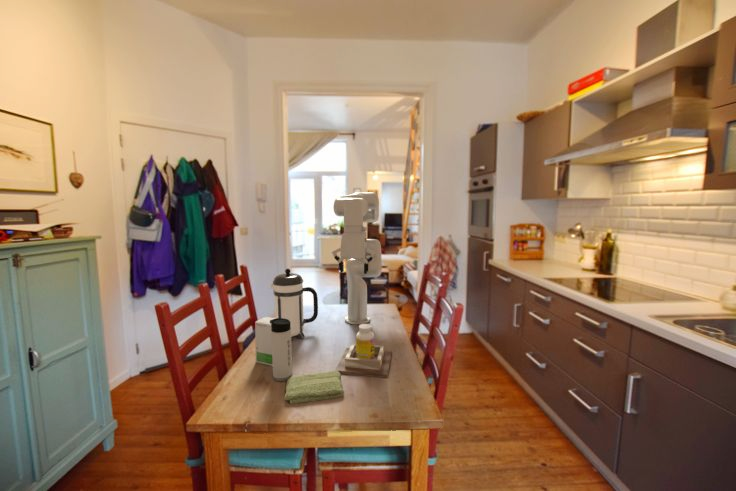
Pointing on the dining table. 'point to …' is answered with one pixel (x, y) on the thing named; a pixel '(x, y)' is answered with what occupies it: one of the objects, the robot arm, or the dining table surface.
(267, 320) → the skincare box
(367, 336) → the supplement bottle
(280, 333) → the travel mug
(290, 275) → the coffee press
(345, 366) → the collar dock
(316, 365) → the dining table surface
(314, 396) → the washcloth
